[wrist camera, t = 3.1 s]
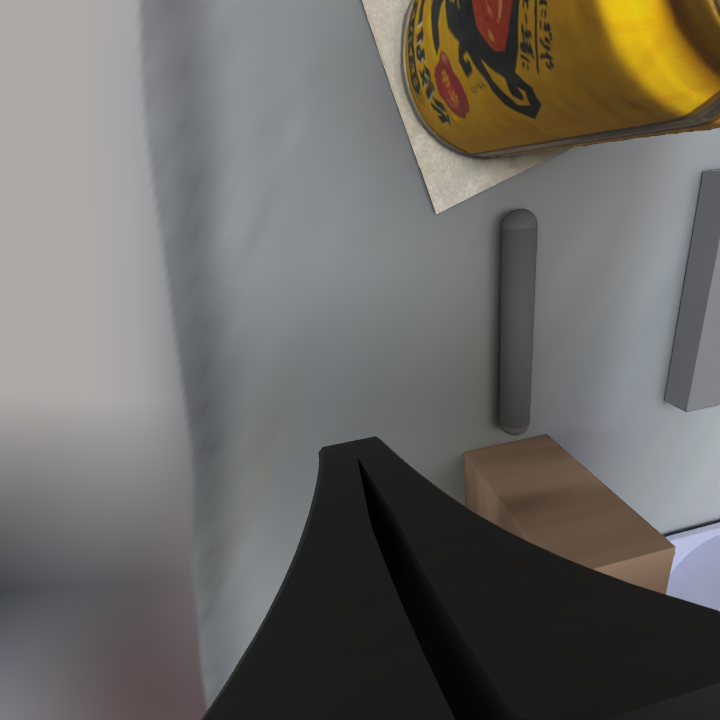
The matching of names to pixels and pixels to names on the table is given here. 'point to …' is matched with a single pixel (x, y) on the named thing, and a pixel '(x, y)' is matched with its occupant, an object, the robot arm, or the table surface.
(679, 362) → the panel
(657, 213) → the table surface
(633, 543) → the walnut block
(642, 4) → the condiment
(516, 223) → the dark gray rod
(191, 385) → the table surface
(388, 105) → the table surface
